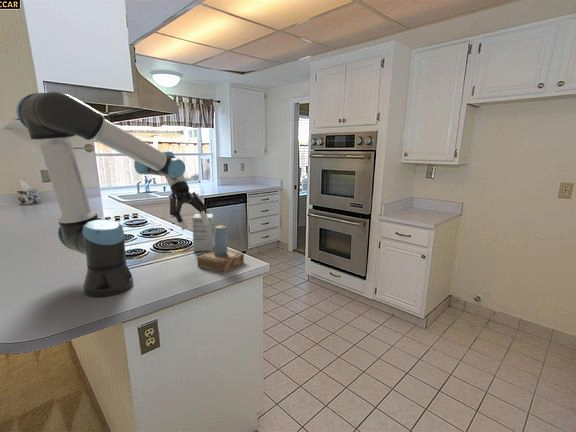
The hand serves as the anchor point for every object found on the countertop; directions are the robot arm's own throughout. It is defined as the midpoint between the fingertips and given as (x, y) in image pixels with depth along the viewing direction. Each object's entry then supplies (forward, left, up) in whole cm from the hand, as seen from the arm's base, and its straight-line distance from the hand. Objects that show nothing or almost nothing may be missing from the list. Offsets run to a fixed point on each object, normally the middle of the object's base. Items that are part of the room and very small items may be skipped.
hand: (196, 226), depth 133 cm
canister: (+1, -13, -11) cm, 17 cm away
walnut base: (+1, -13, -15) cm, 20 cm away
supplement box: (+12, +7, -15) cm, 20 cm away
